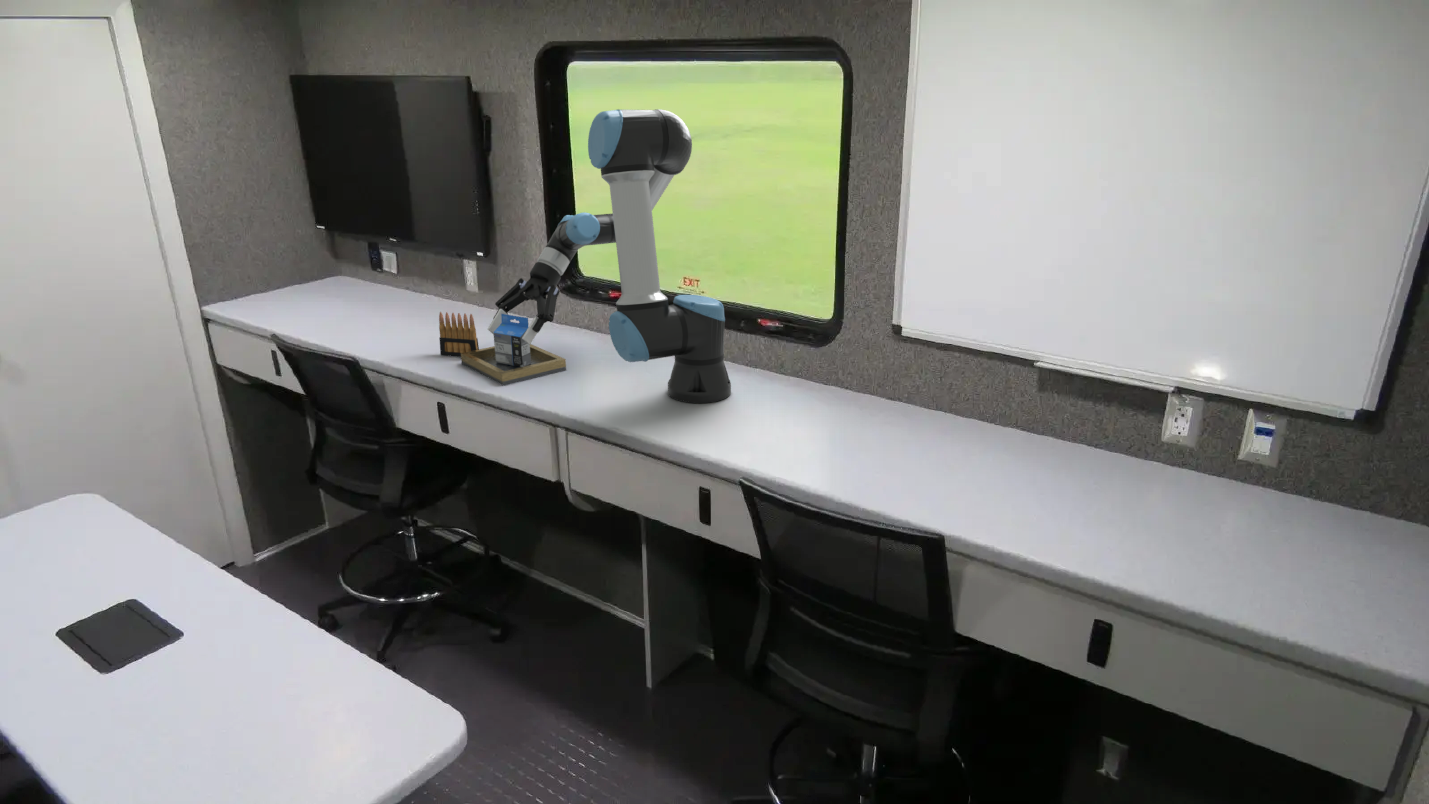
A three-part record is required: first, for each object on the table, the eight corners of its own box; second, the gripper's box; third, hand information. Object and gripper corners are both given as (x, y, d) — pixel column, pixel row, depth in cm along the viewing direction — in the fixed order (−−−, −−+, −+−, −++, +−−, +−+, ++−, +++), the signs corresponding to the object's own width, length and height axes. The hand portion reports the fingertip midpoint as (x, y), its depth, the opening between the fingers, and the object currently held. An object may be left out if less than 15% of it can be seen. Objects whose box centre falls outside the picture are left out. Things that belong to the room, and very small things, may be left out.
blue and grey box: (495, 363, 221) (490, 317, 216) (504, 359, 224) (500, 313, 220) (522, 368, 217) (519, 321, 213) (532, 363, 220) (528, 317, 216)
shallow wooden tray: (566, 370, 219) (565, 359, 218) (503, 385, 208) (502, 374, 206) (522, 350, 234) (521, 340, 233) (461, 364, 223) (460, 353, 222)
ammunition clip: (480, 356, 229) (475, 313, 225) (476, 358, 228) (472, 314, 223) (443, 353, 232) (439, 310, 227) (440, 355, 230) (435, 312, 226)
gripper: (590, 283, 219) (550, 353, 213) (526, 271, 233) (486, 336, 228) (574, 266, 213) (532, 337, 207) (509, 254, 228) (468, 320, 222)
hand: (508, 337), depth 217 cm, fingers open, 13 cm apart
